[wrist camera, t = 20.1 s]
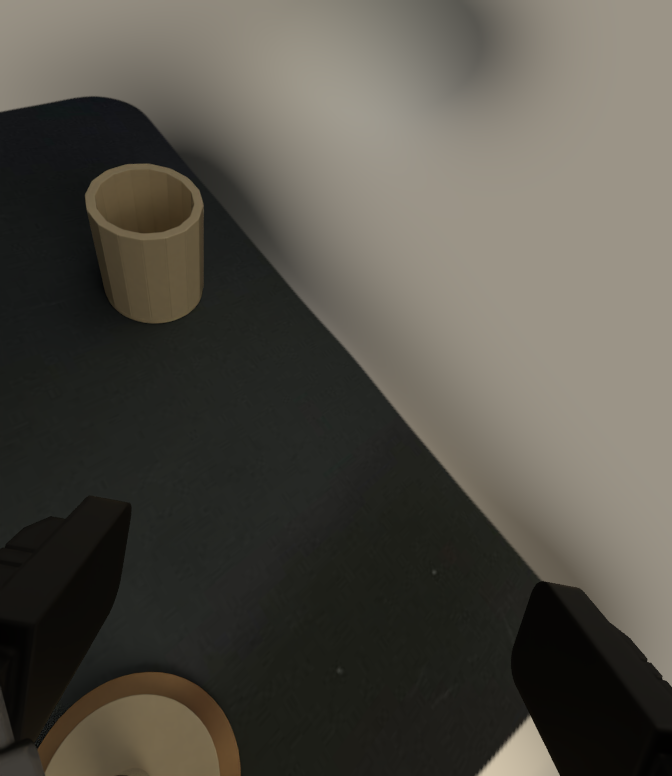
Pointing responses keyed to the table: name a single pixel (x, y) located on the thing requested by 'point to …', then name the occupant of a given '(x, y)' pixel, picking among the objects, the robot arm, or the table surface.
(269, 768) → the table surface
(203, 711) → the cork mat
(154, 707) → the crock lid
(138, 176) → the crock
